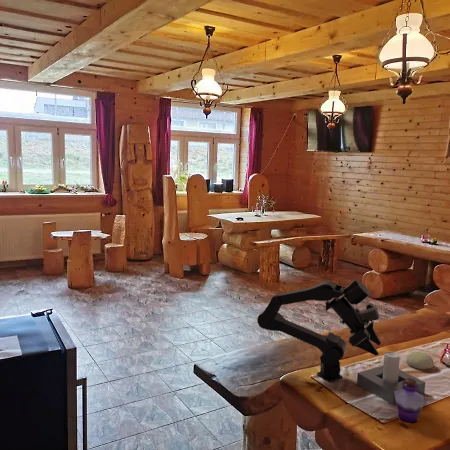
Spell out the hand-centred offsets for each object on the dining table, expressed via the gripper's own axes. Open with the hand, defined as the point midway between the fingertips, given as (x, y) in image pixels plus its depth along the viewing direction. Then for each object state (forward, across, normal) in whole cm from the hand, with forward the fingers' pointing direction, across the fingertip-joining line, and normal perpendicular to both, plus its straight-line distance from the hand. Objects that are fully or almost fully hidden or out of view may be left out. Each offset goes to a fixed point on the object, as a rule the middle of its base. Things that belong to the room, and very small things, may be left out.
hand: (378, 349), depth 148 cm
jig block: (+12, 0, +6) cm, 14 cm away
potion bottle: (+17, -16, +2) cm, 23 cm away
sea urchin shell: (+19, +24, 0) cm, 30 cm away
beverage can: (+12, 0, +6) cm, 14 cm away
